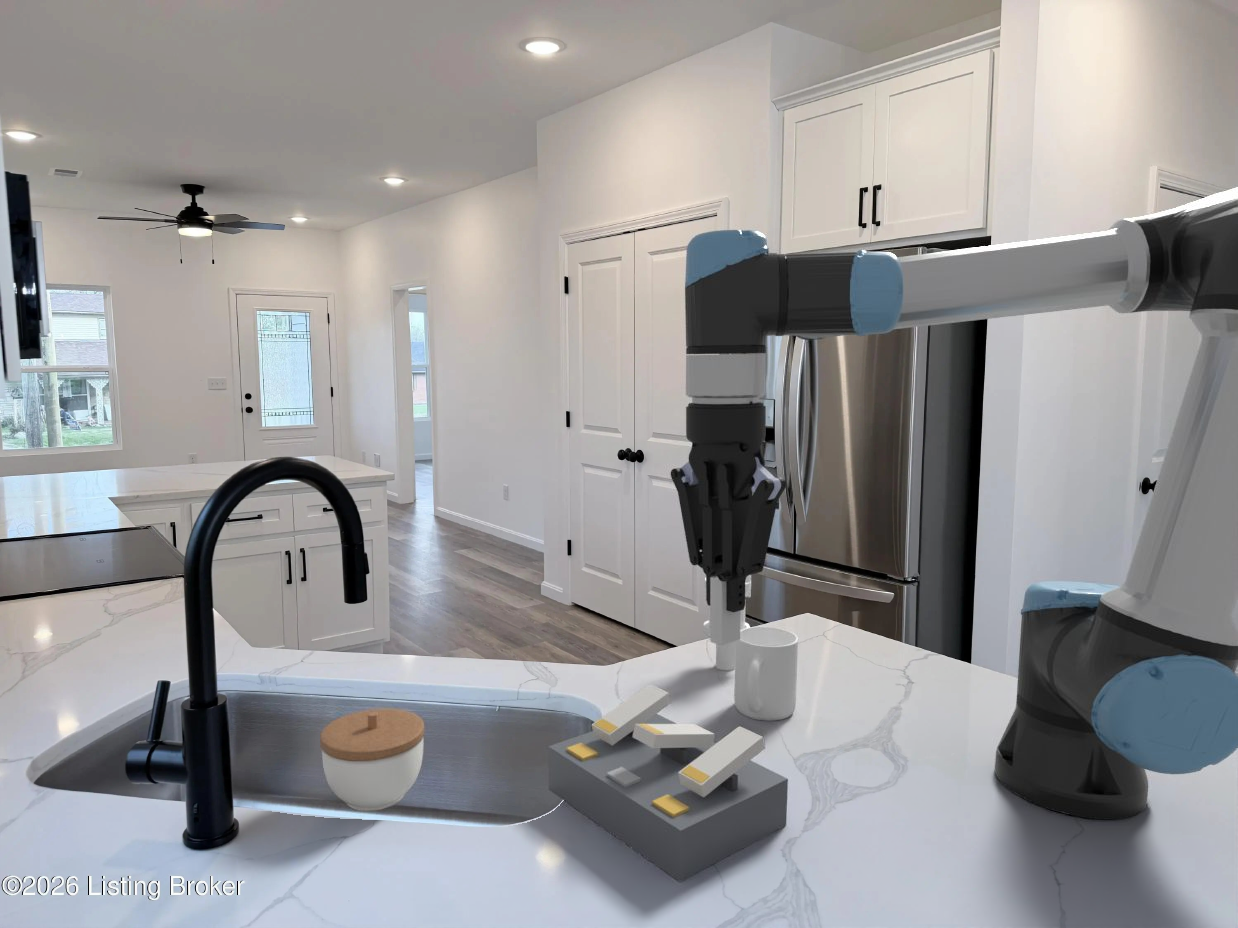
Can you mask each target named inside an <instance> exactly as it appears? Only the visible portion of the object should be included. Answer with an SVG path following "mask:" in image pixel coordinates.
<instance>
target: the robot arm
mask: <svg viewBox="0 0 1238 928" xmlns="http://www.w3.org/2000/svg"><path fill="white" fill-rule="evenodd" d="M767 244H768V240H767V237H766V235H765V234H763V233H762V232H760V231H756V230H751V229H748V230H742V229H741V230H740V229H724V230H723V229H722V230H721V229H720V230H713V231H712V230H711V231H707V232H702V233H699V234H697V235H695V236H694V237H692V238H691V240H690V241H689V242H688V244H687V247H686V254H685V257H686V258H685V259H686V262H685V278H684V279H685V280H684V281H685V282H684V284H685V285H684V307H685V309H684V310H685V312H684V314H685V347H686V348H685V354H686V355H685V396H687V397H688V398H691V402H690V403H688V404H687V406H685V426H686V427H685V433H686V434H685V437H686V439H687V440H688V441H689V442H691V448H690V452H689V454H688V461H687V462H686V463H685V464H684V465H682V466H681V467H676V468H672V469H671V471H670V478H671V480H672V482H673V484H674V487H675V489H676V491H677V494H678V501H679V506H680V507H679V508H680V513H681V519H682V522H683V529H684V535H685V541H686V547H687V552H688V558H689V562H690V564H691V565H692V566H698V567H700V568H701V569H702V571H703V573H704V574H705V577H706V588H705V601H706V604H707V606H708V607H709V606H710V637H709V638H710V642H709V643H712V644H713V643H714V644H715V645H716V644H718V645H721V646H722V645H725V644H728V643H731V642H734V641H737V640H740V610H744V607H745V608H746V605H745V600H746V597H745V580H746V577H747V576H749V575H751V576H752V575H755V574H759V573H762V572H763V570H764V566H765V562H766V557H767V553H768V547H769V543H770V539H771V538H770V537H771V533H772V529H773V523H774V519H775V513H776V510H777V509H776V508H777V505H778V504H777V503H778V501H779V499H780V497H781V496H782V494H783V493H784V491H785V489H786V488H787V482H786V479H785V478H784V477H782V476H780V477H779V476H777V477H776V476H774V475H773V474H772V473H771V472H770V471H768V469H767V468H765V466H766V461H765V458H764V455H763V451H762V444H763V441H764V440H765V438H766V431H767V430H766V426H767V425H766V422H767V421H766V414H767V411H766V410H767V409H766V405H764V402H761V401H760V398H761V397H763V396H765V395H766V377H767V376H766V373H767V372H766V371H767V370H766V365H767V364H766V363H767V362H766V360H767V359H766V355H767V354H766V353H767V346H766V342H767V337H768V336H773V337H783V336H795V337H797V338H798V339H801V340H805V341H814V340H823V339H825V338H832V337H840V336H856V337H864V336H867V335H879V334H880V335H881V334H888V333H890V332H892V331H893V330H898V329H908V328H917V327H918V328H919V327H925V326H934V325H935V326H936V325H946V324H952V323H954V324H955V323H962V322H963V323H964V322H970V321H971V322H973V321H980V320H990V319H998V318H1008V317H1016V316H1025V315H1026V316H1027V315H1032V314H1033V315H1035V314H1041V313H1042V314H1043V313H1053V312H1062V311H1069V310H1071V311H1072V310H1078V309H1079V310H1080V309H1089V308H1098V307H1105V306H1109V307H1110V308H1111V309H1112V310H1114V311H1115V312H1116V313H1118V314H1132V313H1133V314H1134V313H1140V312H1161V311H1162V312H1166V311H1167V312H1172V311H1173V312H1174V311H1175V312H1180V311H1181V312H1189V316H1188V317H1189V318H1190V320H1191V322H1192V323H1193V325H1194V326H1195V327H1196V329H1197V330H1198V332H1199V333H1200V334H1201V341H1200V345H1199V347H1198V349H1197V350H1198V351H1197V354H1196V357H1195V360H1194V363H1193V367H1192V369H1191V372H1190V376H1189V380H1188V382H1187V386H1186V388H1185V391H1184V395H1183V398H1182V401H1181V405H1180V407H1179V411H1178V414H1177V417H1176V419H1175V422H1174V426H1173V429H1172V432H1171V436H1170V439H1169V443H1168V444H1167V448H1166V452H1165V455H1164V456H1163V461H1162V463H1161V467H1160V470H1159V472H1158V473H1159V474H1158V476H1157V479H1156V482H1155V483H1156V484H1155V486H1154V490H1153V493H1152V495H1151V499H1150V502H1149V505H1148V508H1147V511H1146V514H1145V518H1144V521H1143V524H1142V526H1141V530H1140V534H1139V536H1138V540H1137V543H1136V546H1135V549H1134V552H1133V556H1132V558H1131V562H1130V564H1129V568H1128V572H1127V574H1126V577H1125V581H1124V583H1122V585H1112V584H1106V583H1105V584H1104V583H1097V582H1096V583H1095V582H1085V581H1084V582H1083V581H1070V580H1069V581H1068V580H1067V581H1066V580H1065V581H1063V580H1062V581H1060V580H1058V581H1056V580H1055V581H1053V580H1052V581H1039V582H1035V583H1033V584H1031V585H1029V586H1028V587H1027V588H1026V589H1025V592H1024V599H1023V603H1022V608H1021V609H1020V615H1021V627H1020V639H1019V642H1020V643H1019V655H1018V656H1019V657H1018V669H1017V685H1016V686H1017V688H1016V689H1017V691H1016V700H1015V701H1016V702H1015V703H1016V704H1015V709H1014V711H1013V712H1012V713H1013V714H1012V715H1011V717H1010V720H1009V722H1008V724H1007V725H1006V727H1005V730H1004V733H1003V734H1002V737H1001V739H1000V740H999V743H998V745H997V747H996V751H995V759H994V760H995V761H994V772H995V775H996V777H997V778H998V780H999V781H1000V782H1001V784H1003V786H1005V787H1006V788H1008V790H1010V791H1011V792H1013V793H1014V794H1016V795H1018V796H1019V797H1021V798H1023V799H1024V800H1026V801H1029V802H1030V803H1033V804H1036V805H1038V806H1040V807H1043V808H1046V809H1049V810H1051V811H1055V812H1057V813H1058V812H1059V813H1062V814H1064V815H1065V814H1066V815H1070V816H1075V817H1081V818H1087V819H1088V818H1089V819H1095V820H1096V819H1099V820H1117V819H1125V818H1129V817H1133V816H1135V815H1138V814H1140V813H1141V812H1143V810H1145V809H1146V806H1147V803H1148V795H1149V794H1148V793H1149V779H1148V775H1147V772H1146V771H1147V770H1148V771H1149V772H1150V771H1151V772H1154V773H1159V774H1165V775H1185V774H1191V773H1198V772H1200V771H1202V770H1203V769H1204V768H1206V767H1208V766H1210V765H1212V766H1215V765H1218V764H1219V763H1221V762H1223V761H1224V760H1226V759H1227V758H1228V757H1230V756H1231V755H1232V754H1234V752H1235V751H1237V750H1238V675H1237V674H1236V670H1237V667H1238V625H1237V624H1236V623H1235V621H1234V619H1233V613H1234V611H1235V608H1236V604H1237V602H1238V187H1235V188H1231V189H1228V190H1225V191H1223V190H1222V191H1221V192H1218V193H1214V194H1212V195H1209V196H1206V197H1204V198H1202V199H1198V200H1196V201H1193V202H1189V203H1186V204H1185V205H1181V206H1178V207H1176V208H1172V209H1168V210H1165V211H1161V212H1157V213H1154V214H1153V213H1152V214H1149V215H1144V216H1143V215H1142V216H1137V217H1132V218H1131V217H1130V218H1124V219H1119V220H1116V222H1114V223H1113V224H1112V225H1111V226H1110V228H1108V229H1107V231H1100V232H1092V233H1083V234H1076V235H1067V236H1059V237H1050V238H1043V239H1036V240H1035V239H1034V240H1028V241H1020V242H1019V241H1018V242H1011V243H1003V244H1002V243H1001V244H996V245H995V244H994V245H988V246H985V245H984V246H979V247H968V248H961V249H954V250H946V251H938V252H932V253H931V252H930V253H924V254H923V253H922V254H913V255H908V256H907V255H906V256H899V257H897V256H896V255H895V254H894V253H892V252H889V251H866V250H864V249H858V250H857V251H841V252H839V251H838V252H817V253H813V252H812V253H796V254H795V253H793V254H784V253H777V252H770V251H769V249H770V248H769V247H768V245H767Z"/></svg>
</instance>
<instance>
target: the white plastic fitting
mask: <svg viewBox="0 0 1238 928" xmlns="http://www.w3.org/2000/svg"><path fill="white" fill-rule="evenodd" d="M704 587H705V589H706V576H705V578H704ZM751 590H752V575H749V576H747V577H746V580H745V598H751V595H752V594H751V593H752V591H751ZM746 602H747V601H746V599H745V607H744V610H740V630H742V629H745V628H750V627H751V626H750V624H749V623H748V622H746ZM703 633H704V635H706V636H708V637H709V638H710V606H709V605H708V620H706V621H704V622H703ZM715 646H716V647H715V649H716V650H715V652H716V653H715V668H716V669H718V670H722V671H733V670H735V651H736V641H734V642H731V643H728V644H725V645H722V646H721V645H718V644H715Z"/></svg>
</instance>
